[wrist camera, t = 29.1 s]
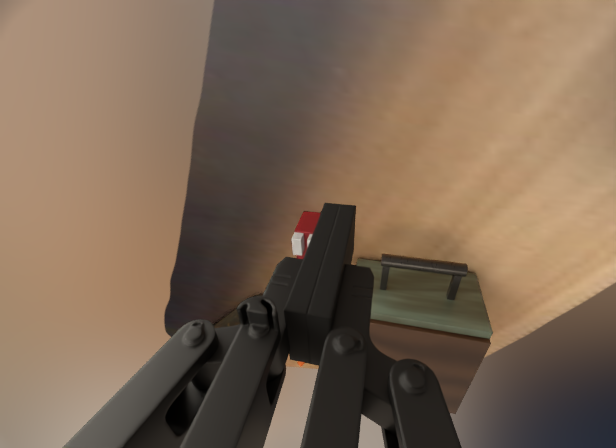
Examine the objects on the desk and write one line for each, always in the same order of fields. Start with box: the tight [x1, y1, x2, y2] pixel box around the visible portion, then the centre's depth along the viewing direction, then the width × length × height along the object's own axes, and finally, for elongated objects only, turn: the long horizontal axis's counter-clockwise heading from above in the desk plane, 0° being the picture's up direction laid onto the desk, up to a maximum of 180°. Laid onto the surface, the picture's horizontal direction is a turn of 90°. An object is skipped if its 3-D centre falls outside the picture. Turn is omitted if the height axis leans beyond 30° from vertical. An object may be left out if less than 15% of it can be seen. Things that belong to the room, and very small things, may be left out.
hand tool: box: [213, 295, 263, 328], centre depth 62 cm, size 19×4×5 cm, turn 138°
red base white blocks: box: [292, 211, 321, 259], centre depth 44 cm, size 7×3×6 cm, turn 3°
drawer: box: [356, 254, 493, 339], centre depth 45 cm, size 24×17×10 cm
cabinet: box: [369, 319, 491, 414], centre depth 47 cm, size 18×17×11 cm
